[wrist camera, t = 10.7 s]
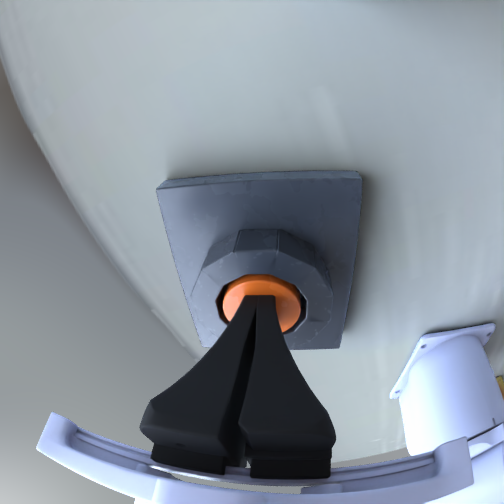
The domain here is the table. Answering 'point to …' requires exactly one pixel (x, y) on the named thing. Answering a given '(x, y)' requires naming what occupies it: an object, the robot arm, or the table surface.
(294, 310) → the switch
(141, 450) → the robot arm
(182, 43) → the table surface
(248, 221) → the switch base
